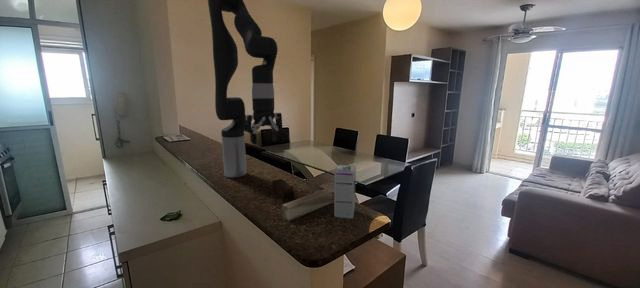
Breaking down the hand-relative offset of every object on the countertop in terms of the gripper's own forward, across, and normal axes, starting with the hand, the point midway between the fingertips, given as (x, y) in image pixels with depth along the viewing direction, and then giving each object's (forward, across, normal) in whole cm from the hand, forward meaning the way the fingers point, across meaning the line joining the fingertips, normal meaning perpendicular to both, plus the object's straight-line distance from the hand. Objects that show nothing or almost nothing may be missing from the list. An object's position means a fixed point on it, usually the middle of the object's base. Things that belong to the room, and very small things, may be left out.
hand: (264, 142), depth 95 cm
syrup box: (+18, -6, +33) cm, 38 cm away
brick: (+18, -1, +9) cm, 21 cm away
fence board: (+18, 0, +24) cm, 30 cm away
